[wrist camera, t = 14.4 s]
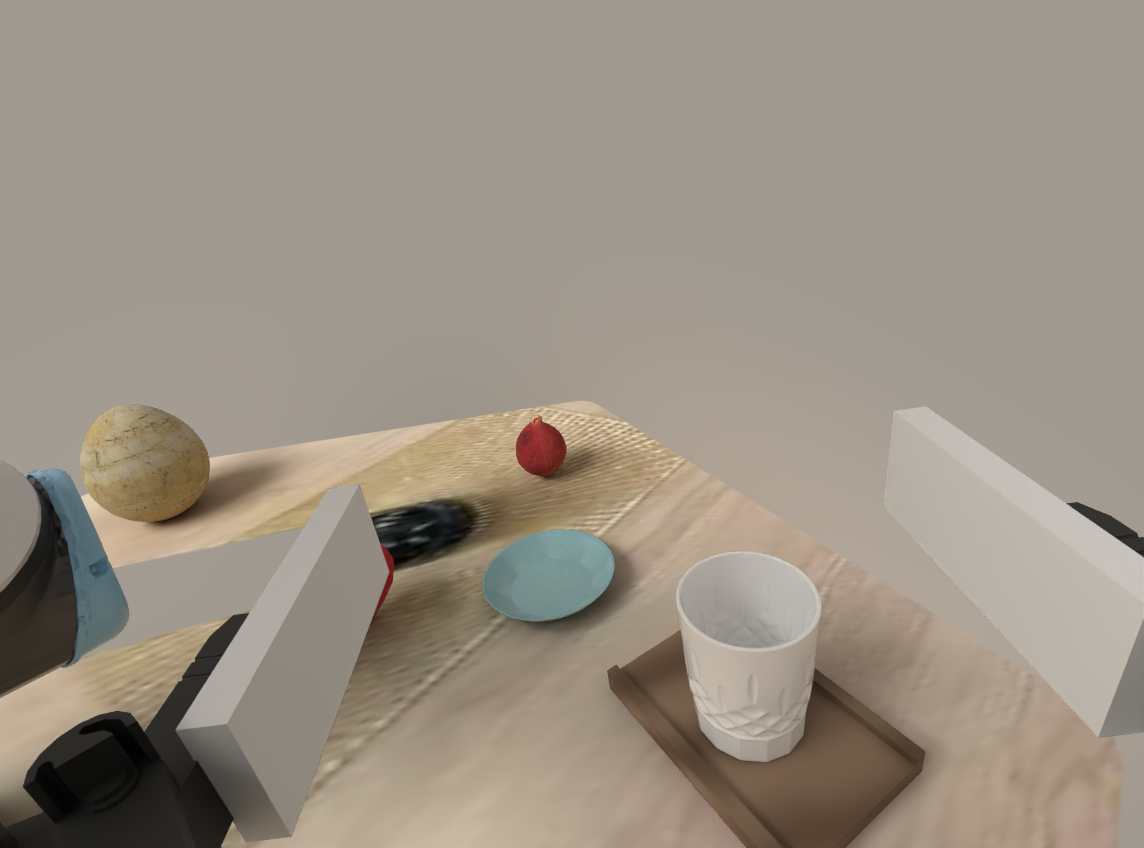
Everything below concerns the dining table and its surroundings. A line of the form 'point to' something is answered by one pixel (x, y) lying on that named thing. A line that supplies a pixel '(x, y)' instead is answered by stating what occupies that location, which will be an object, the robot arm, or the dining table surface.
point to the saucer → (548, 575)
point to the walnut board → (784, 785)
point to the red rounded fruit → (540, 448)
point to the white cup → (749, 650)
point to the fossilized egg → (143, 463)
